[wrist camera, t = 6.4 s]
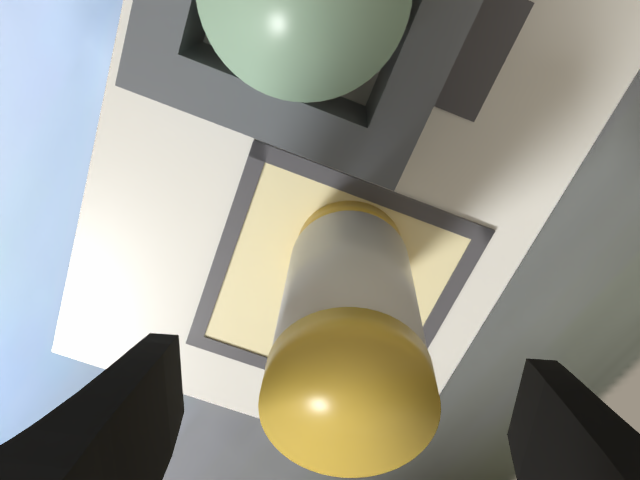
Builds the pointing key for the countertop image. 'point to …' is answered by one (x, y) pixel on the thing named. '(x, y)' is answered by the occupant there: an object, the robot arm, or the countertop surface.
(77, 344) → the board
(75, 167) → the countertop surface
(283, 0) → the button
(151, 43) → the button housing
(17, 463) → the robot arm
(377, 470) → the two-tone rounded cylinder
